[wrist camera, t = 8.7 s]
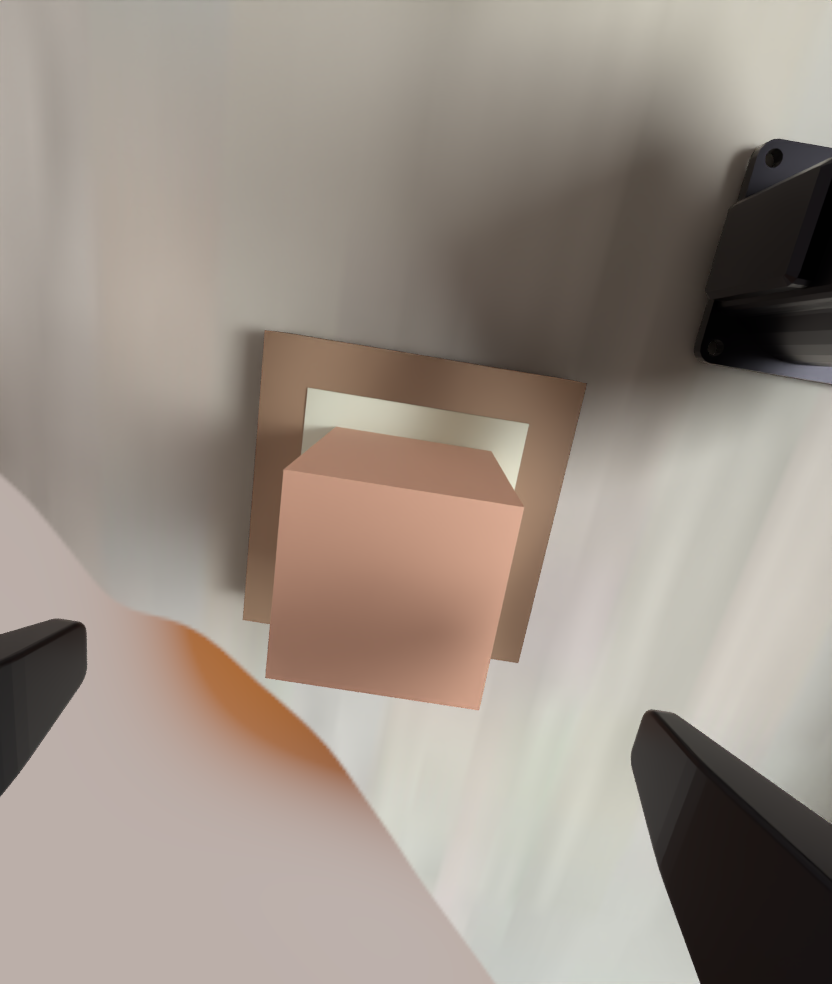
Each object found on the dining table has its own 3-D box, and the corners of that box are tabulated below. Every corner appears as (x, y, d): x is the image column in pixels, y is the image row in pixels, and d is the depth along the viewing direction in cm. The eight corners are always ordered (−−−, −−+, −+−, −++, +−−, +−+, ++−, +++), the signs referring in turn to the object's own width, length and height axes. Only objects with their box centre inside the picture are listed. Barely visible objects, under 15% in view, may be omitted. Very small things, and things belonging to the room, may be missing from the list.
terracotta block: (491, 451, 16) (524, 507, 11) (463, 592, 18) (478, 710, 12) (335, 426, 16) (283, 469, 10) (319, 570, 18) (265, 677, 12)
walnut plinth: (570, 379, 18) (587, 383, 16) (510, 633, 20) (518, 664, 18) (282, 332, 18) (263, 329, 16) (260, 594, 20) (241, 621, 18)
